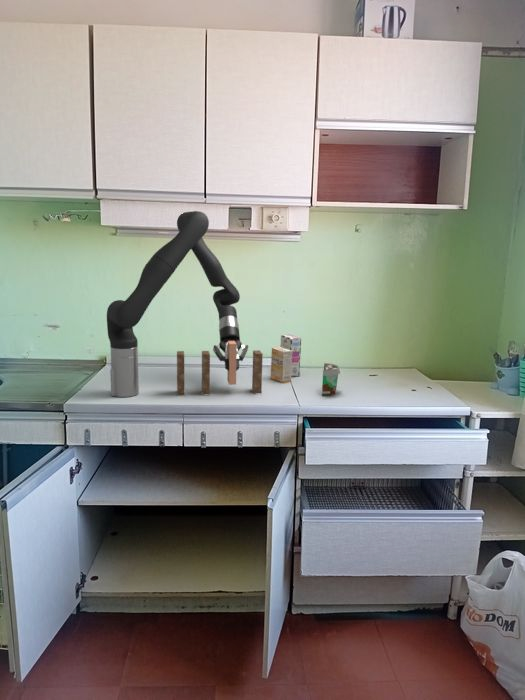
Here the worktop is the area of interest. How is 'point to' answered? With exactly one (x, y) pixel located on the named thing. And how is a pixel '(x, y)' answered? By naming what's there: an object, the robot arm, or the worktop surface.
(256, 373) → the wood grain beam
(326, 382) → the food container
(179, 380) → the near walnut tile
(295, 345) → the candy bar box
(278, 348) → the supplement box
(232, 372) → the terracotta tile
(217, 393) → the worktop surface
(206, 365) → the middle walnut tile
